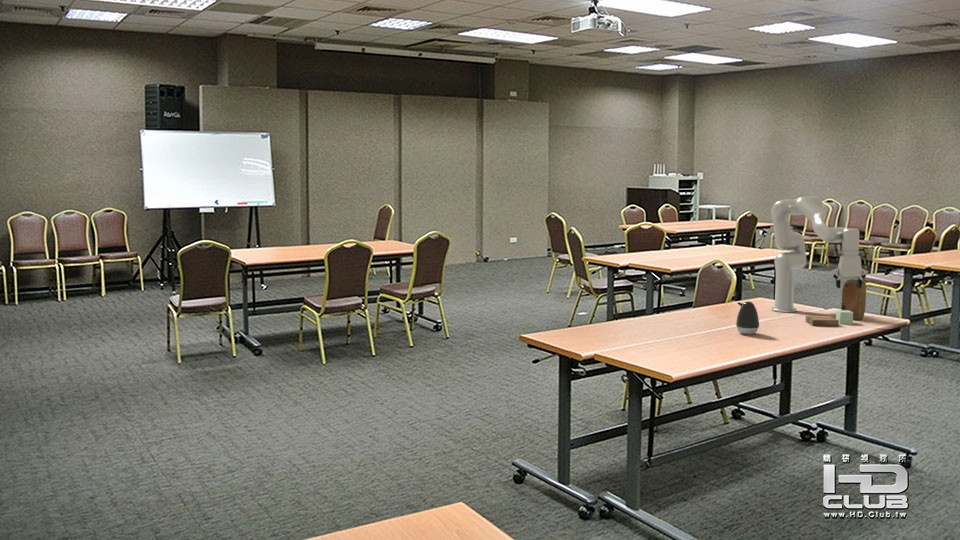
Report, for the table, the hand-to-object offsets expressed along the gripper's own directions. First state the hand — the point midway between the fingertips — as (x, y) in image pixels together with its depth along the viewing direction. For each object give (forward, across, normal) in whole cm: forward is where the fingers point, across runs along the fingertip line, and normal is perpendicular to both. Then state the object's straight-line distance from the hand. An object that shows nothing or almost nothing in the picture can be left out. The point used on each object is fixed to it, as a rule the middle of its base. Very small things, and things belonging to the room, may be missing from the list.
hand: (848, 287), depth 394 cm
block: (+18, +6, +13) cm, 23 cm away
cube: (+18, -1, +1) cm, 18 cm away
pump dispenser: (+18, -55, -32) cm, 66 cm away
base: (+18, -13, -4) cm, 22 cm away
